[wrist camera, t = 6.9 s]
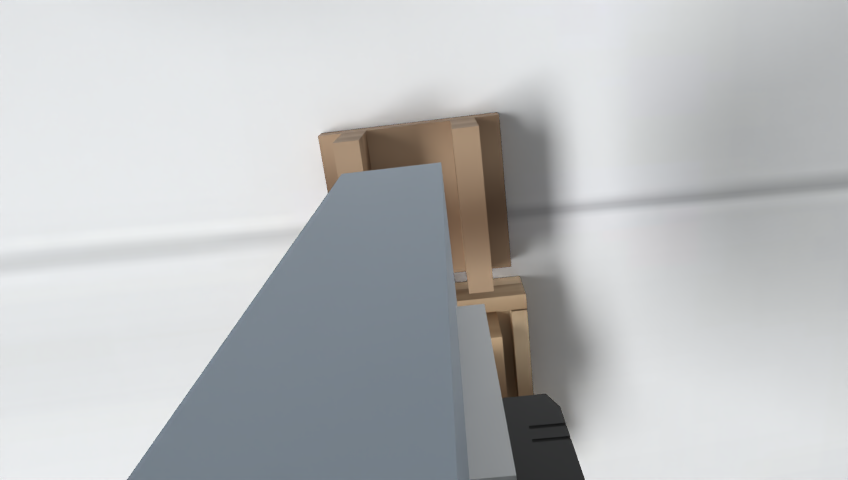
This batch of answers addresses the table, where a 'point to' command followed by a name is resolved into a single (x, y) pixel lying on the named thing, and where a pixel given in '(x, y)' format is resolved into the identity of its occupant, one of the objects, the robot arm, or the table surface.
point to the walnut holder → (462, 176)
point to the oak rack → (507, 328)
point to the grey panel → (337, 352)
